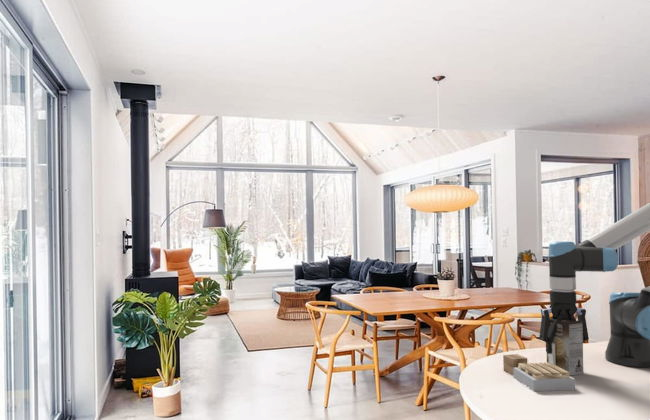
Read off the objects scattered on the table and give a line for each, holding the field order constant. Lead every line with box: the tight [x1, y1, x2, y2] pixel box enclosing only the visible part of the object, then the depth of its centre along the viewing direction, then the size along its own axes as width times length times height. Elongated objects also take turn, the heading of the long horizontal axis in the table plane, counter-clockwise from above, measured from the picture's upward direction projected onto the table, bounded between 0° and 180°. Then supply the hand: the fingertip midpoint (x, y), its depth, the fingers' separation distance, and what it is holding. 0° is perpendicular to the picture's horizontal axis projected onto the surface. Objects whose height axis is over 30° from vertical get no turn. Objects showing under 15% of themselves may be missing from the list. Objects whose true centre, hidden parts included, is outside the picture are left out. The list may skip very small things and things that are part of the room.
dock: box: [513, 367, 576, 392], centre depth 140 cm, size 12×12×3 cm
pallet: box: [518, 362, 570, 379], centre depth 140 cm, size 10×10×2 cm
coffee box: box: [546, 317, 584, 377], centre depth 152 cm, size 9×6×16 cm
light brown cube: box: [502, 353, 528, 376], centre depth 150 cm, size 5×5×5 cm
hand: (564, 363), depth 152 cm, fingers closed on coffee box, 7 cm apart
